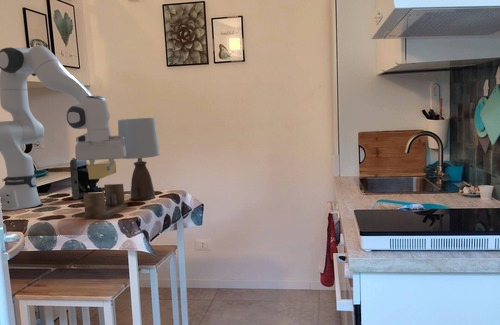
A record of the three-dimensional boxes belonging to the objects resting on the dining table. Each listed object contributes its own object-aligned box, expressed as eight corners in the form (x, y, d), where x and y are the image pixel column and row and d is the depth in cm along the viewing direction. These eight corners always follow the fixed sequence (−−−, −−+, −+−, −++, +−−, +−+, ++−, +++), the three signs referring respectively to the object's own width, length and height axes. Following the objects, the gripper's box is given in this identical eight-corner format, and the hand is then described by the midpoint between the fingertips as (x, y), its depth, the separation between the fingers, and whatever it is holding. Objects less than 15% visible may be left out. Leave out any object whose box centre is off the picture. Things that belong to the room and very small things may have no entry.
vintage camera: (101, 200, 220) (99, 158, 218) (71, 199, 223) (69, 158, 220) (110, 196, 230) (109, 156, 227) (82, 195, 232) (79, 156, 230)
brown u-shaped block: (83, 219, 181) (80, 193, 180) (105, 207, 201) (103, 184, 200) (107, 218, 180) (105, 193, 178) (127, 206, 200) (125, 183, 199)
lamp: (153, 201, 208) (147, 118, 204) (115, 201, 212) (108, 120, 208) (168, 193, 226) (163, 117, 222) (133, 193, 230) (127, 118, 226)
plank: (89, 179, 181) (87, 166, 180) (106, 173, 197) (105, 161, 196) (100, 178, 180) (98, 165, 180) (116, 172, 196) (115, 160, 195)
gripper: (127, 134, 188) (130, 168, 190) (79, 137, 191) (82, 170, 192) (121, 135, 182) (124, 170, 184) (71, 138, 184) (75, 172, 186)
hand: (102, 170), depth 188 cm, fingers closed on plank, 4 cm apart
